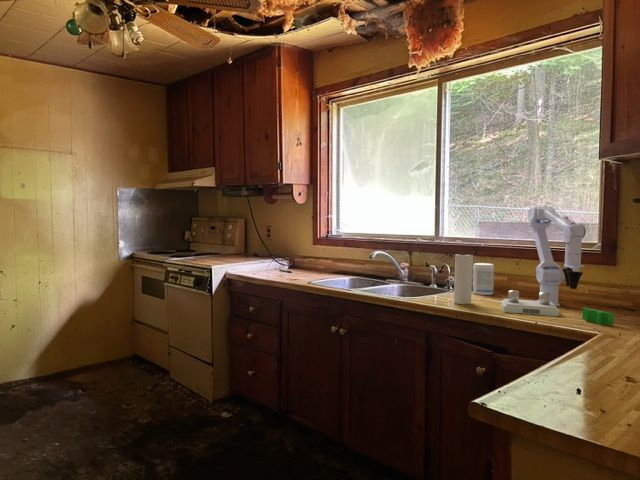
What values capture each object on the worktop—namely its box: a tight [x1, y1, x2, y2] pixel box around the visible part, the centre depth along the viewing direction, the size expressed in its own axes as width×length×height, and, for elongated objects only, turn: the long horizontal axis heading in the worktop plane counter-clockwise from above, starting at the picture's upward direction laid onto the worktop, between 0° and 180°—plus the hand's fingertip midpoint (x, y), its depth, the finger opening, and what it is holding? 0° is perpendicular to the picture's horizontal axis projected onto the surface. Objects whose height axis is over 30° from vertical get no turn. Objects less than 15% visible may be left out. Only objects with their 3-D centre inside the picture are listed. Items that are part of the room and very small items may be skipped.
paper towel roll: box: [453, 253, 474, 305], centre depth 203 cm, size 7×6×21 cm
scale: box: [500, 298, 560, 317], centre depth 191 cm, size 15×20×3 cm
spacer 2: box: [538, 291, 550, 305], centre depth 189 cm, size 4×4×4 cm
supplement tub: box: [472, 262, 495, 296], centre depth 229 cm, size 10×10×15 cm
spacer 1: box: [507, 289, 520, 303], centre depth 193 cm, size 4×4×4 cm
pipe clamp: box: [581, 307, 615, 327], centre depth 172 cm, size 11×4×5 cm, turn 25°
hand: (571, 287), depth 191 cm, fingers open, 7 cm apart
